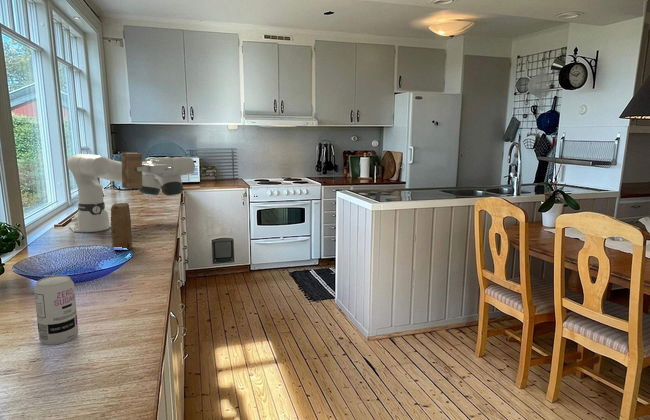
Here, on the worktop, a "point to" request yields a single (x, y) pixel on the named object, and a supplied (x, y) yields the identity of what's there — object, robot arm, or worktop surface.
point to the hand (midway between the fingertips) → (132, 168)
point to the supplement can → (56, 310)
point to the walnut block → (131, 170)
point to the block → (121, 226)
